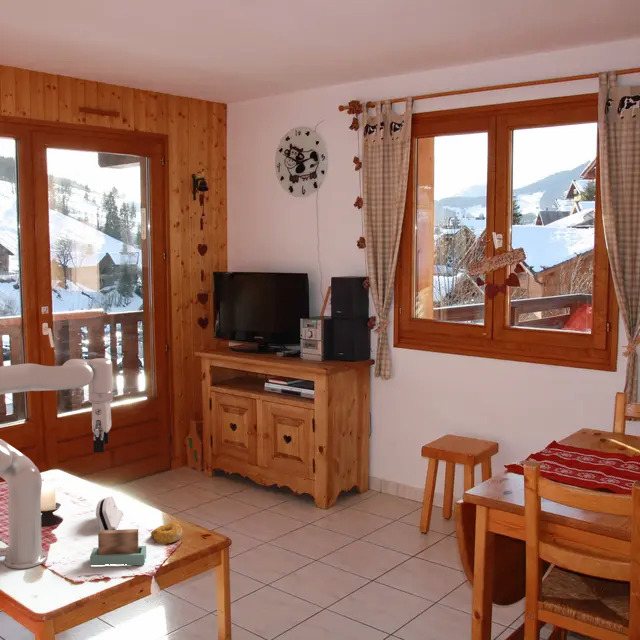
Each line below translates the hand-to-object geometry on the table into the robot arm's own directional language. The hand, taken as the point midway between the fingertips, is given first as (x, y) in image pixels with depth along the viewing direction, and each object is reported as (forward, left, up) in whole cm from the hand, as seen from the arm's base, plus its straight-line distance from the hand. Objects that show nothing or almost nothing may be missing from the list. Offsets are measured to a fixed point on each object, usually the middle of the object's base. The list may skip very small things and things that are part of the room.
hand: (101, 447), depth 245 cm
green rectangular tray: (+7, -14, -33) cm, 37 cm away
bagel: (+21, +4, -34) cm, 40 cm away
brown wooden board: (+7, -13, -32) cm, 36 cm away
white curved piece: (-1, +19, -34) cm, 39 cm away
